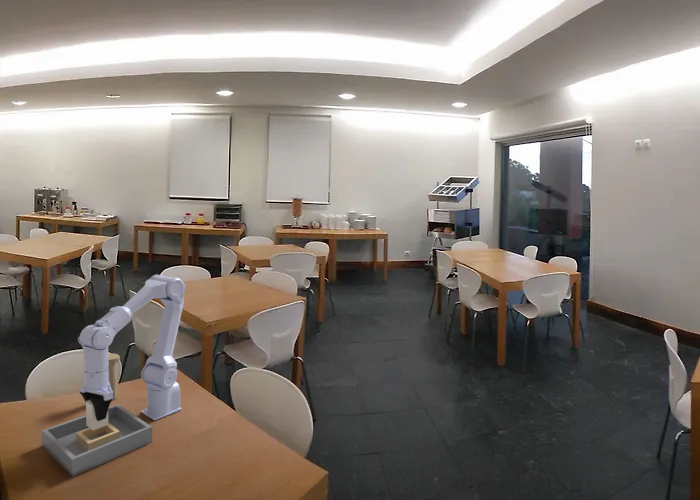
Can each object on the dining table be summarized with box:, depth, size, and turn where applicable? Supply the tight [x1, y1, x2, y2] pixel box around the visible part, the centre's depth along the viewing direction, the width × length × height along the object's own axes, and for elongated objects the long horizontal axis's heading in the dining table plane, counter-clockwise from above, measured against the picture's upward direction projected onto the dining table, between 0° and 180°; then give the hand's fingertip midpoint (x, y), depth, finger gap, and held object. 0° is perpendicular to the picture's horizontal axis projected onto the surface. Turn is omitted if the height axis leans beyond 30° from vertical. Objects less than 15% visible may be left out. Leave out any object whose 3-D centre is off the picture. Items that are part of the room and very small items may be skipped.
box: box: [41, 403, 153, 477], centre depth 117 cm, size 20×20×4 cm
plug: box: [85, 400, 108, 430], centre depth 116 cm, size 4×4×8 cm
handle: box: [108, 352, 121, 401], centre depth 141 cm, size 5×6×15 cm
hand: (97, 416), depth 116 cm, fingers closed on plug, 4 cm apart
